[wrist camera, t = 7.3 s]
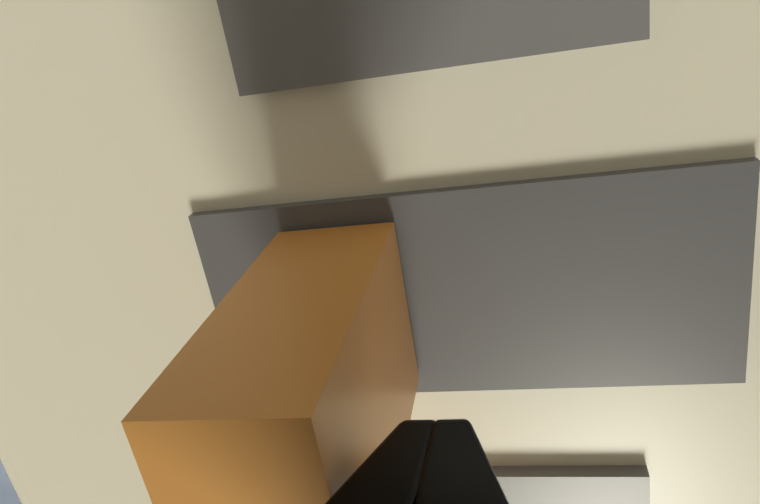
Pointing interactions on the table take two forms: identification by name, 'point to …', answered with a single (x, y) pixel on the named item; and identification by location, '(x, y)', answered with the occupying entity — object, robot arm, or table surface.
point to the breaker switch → (284, 376)
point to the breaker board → (397, 220)
